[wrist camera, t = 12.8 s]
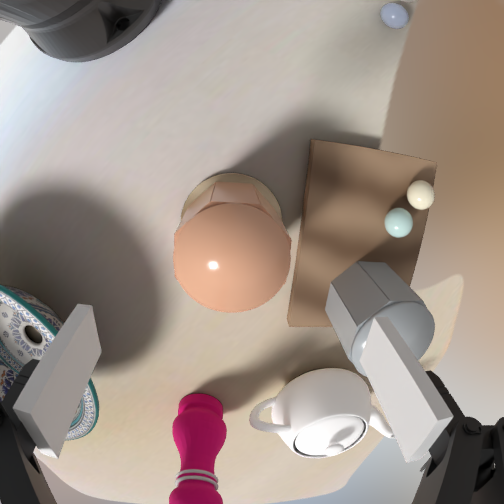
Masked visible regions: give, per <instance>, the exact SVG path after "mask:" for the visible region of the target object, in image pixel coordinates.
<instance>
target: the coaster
mask: <svg viewBox="0 0 504 504" xmlns="http://www.w3.org/2000/svg"><path fill="white" fill-rule="evenodd" d="M215 182H234V183H249V184H254V186H255V187H256V188H257V189H258V190H259V191H260V193H261V194H262V195H263V196H264V197H265V198H266V199H267V201H268V202H269V203H270V204H271V205H272V206H273V208H274V209H275V210H276V212H277V213H278V215H279V217H280V219H281V221H282V214H281V210H280V207H279V204H278V202H277V200H276V198H275V196H274V195H273V194H272V192H271V191H270V190H269V189H268V188H267V187H266V186H265V185H264V184H263V183H261V182H260V181H258V180H257V179H255V178H253V177H250V176H247V175H244V174H238V173H225V174H220V175H216V176H213V177H211V178H208V179H207V180H205V181H203V182H202V183H201V184H199V185H198V186H197V187H196V188H195V189H194V190H193V191H192V192H191V194H190V195H189V197H188V198H187V200H186V202H185V204H184V207H183V210H182V214H181V220H182V218H183V216H184V214H185V212H186V210H187V208H188V206H189V205H190V204H191V203H192V202H193V201H194V200H195V199H197V198H198V197H199V196H200V195H201V194H202V193H203V192H204V191H206V190H207V189H208V188H209V187H210V186H211V185H212V184H213V183H215Z"/></svg>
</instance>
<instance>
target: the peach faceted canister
mask: <svg viewBox="0 0 504 504" xmlns="http://www.w3.org/2000/svg"><path fill="white" fill-rule="evenodd" d="M291 241H292V240H291V238H290V236H289V234H288V232H287V230H286V228H285V227H284V225H283V223H282V221H281V219H280V217H279V215H278V213H277V212H276V210H275V209H274V208H273V206H272V205H271V204H270V203H269V202H268V201H267V199H266V198H265V197H264V196H263V195H262V194H261V193H260V191H259V190H258V189H257V188H256V187H255V186H254V184H249V183H234V182H215V183H213V184H212V185H211V186H210V187H209V188H208V189H207V190H206V191H204V192H203V193H202V194H201V195H200V196H199V197H198V198H197V199H195V200H194V201H193V202H192V203H191V204H190V205H189V206H188V208H187V210H186V212H185V214H184V216H183V218H182V220H181V222H180V224H179V226H178V228H177V230H176V232H175V234H174V255H173V262H174V269H175V277H176V279H177V280H178V281H179V283H180V284H181V286H182V288H183V289H184V290H185V292H186V293H187V294H188V295H189V296H190V297H191V298H193V299H194V300H195V301H196V302H198V303H200V304H201V305H203V306H205V307H207V308H210V309H213V310H216V311H221V312H243V311H247V310H251V309H254V308H256V307H258V306H260V305H262V304H264V303H266V302H267V301H269V300H270V299H271V298H272V297H273V296H275V294H276V293H277V292H278V291H279V290H280V288H281V287H282V286H283V285H284V284H285V282H286V278H287V275H288V273H289V268H290V260H291V257H290V249H291Z"/></svg>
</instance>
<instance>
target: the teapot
mask: <svg viewBox="0 0 504 504" xmlns="http://www.w3.org/2000/svg"><path fill="white" fill-rule="evenodd" d="M271 406H272V415H271V417H272V421H273V423H267V422H264V421H261V420H260V419H259V418H258V417H259V414H260V412H261V411H262V410H264V409H266V408H268V407H271ZM249 421H250V424H251V426H252V427H254V428H255V429H258V430H261V431H266V432H273V433H278V434H279V435H280V437H281V438H282V439H283V441H284V442H285V443H286V444H287V445H288V446H289V448H290V449H291V450H292V451H293V452H295V453H296V454H297V455H300V456H302V457H307V458H325V457H330V456H334V455H337V454H340V453H342V452H344V451H347V450H349V449H350V448H352V447H353V446H355V445H356V444H357V443H359V442H360V441H361V440H362V439H363V437H364V436H365V434H366V433H367V431H368V428H369V425H371V426H373V427H374V428H375V429H377V430H378V431H379V432H380V433H382V434H383V435H385V436H387V437H389V438H395V436H394V433H393V431H392V429H391V427H390V426H389V425H388V424H387V422H386V421H385V419H384V417H383V415H382V413H381V412H380V411H379V410H378V409H377V407H375V406H373V405H372V404H371V395H370V391H369V388H368V386H367V384H366V383H365V381H364V380H363V379H362V378H361V377H360V376H358V375H357V374H356V373H353V372H351V371H349V370H344V369H339V368H325V369H318V370H314V371H310V372H307V373H305V374H302V375H301V376H299V377H297V378H295V379H293V380H292V381H291V382H289V383H288V384H287V385H286V386H285V387H284V388H283V389H282V390H281V391H280V392H279V393H278V395H277V396H276V397H273V398H270V399H267V400H265V401H263V402H261V403H259V404H258V405H256V406H255V407H254V409H253V410H252V411H251V414H250V418H249Z"/></svg>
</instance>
